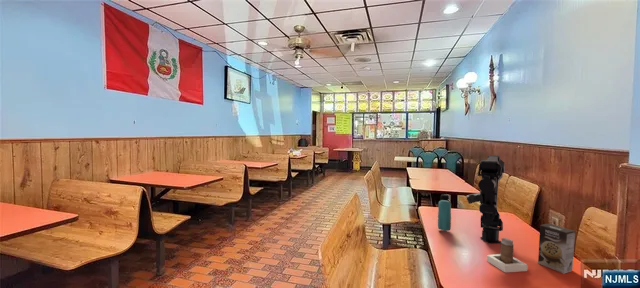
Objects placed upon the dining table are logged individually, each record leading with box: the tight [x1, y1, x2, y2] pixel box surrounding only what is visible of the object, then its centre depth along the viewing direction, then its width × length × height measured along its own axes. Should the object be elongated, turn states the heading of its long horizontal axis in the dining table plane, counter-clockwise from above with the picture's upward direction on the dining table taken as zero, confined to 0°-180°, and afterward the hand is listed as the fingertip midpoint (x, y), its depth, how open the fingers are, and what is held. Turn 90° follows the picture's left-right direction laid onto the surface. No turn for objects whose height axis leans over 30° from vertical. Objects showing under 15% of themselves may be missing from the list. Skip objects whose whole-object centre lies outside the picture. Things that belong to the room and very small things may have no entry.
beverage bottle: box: [437, 193, 452, 232], centre depth 145 cm, size 6×7×20 cm
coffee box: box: [537, 223, 576, 274], centre depth 107 cm, size 9×6×16 cm
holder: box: [486, 253, 528, 273], centre depth 109 cm, size 10×10×2 cm
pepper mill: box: [499, 237, 514, 264], centre depth 108 cm, size 4×4×10 cm
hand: (487, 223), depth 120 cm, fingers open, 9 cm apart
